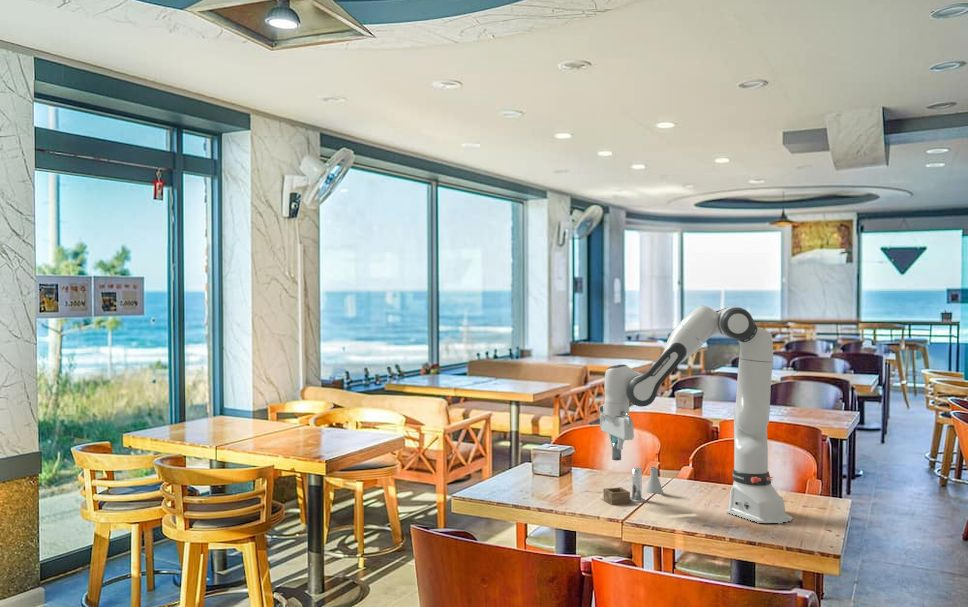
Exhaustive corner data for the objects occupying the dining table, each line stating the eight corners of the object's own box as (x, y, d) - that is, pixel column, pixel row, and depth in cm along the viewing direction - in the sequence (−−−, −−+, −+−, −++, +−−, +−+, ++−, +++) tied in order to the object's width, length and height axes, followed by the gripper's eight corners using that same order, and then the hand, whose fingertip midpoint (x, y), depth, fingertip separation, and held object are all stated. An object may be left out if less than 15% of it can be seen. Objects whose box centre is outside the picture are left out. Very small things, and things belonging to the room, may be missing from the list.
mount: (649, 504, 271) (649, 490, 271) (611, 508, 267) (611, 494, 267) (638, 499, 279) (638, 485, 279) (601, 502, 275) (601, 488, 275)
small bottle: (614, 460, 270) (614, 432, 270) (610, 458, 273) (610, 431, 273) (622, 460, 271) (622, 432, 271) (618, 458, 274) (618, 430, 274)
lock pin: (643, 499, 273) (643, 469, 272) (634, 500, 272) (634, 470, 272) (639, 497, 276) (639, 467, 276) (630, 497, 275) (630, 467, 275)
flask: (662, 491, 290) (662, 465, 289) (665, 496, 282) (665, 470, 282) (643, 491, 290) (643, 465, 290) (645, 496, 283) (645, 469, 283)
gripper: (638, 413, 263) (638, 453, 263) (612, 405, 282) (612, 442, 282) (621, 414, 261) (621, 454, 261) (596, 406, 280) (596, 443, 281)
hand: (616, 448), depth 272 cm, fingers closed on small bottle, 3 cm apart
